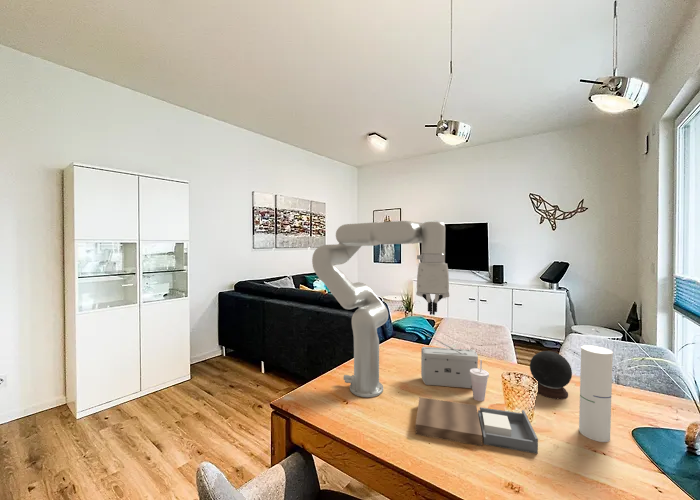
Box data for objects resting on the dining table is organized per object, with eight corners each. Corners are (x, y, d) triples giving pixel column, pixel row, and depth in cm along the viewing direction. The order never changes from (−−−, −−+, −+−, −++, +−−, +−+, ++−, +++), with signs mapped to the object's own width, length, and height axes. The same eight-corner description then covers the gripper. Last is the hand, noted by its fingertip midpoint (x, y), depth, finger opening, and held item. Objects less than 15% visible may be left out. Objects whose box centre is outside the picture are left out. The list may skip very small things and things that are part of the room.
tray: (483, 444, 85) (484, 430, 85) (478, 416, 99) (478, 403, 99) (537, 453, 82) (538, 439, 81) (523, 423, 95) (524, 410, 95)
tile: (484, 433, 89) (484, 424, 89) (482, 419, 96) (482, 411, 96) (511, 438, 87) (511, 429, 87) (507, 424, 94) (507, 416, 94)
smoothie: (490, 404, 106) (491, 364, 106) (470, 402, 107) (471, 362, 107) (486, 394, 112) (486, 357, 112) (467, 393, 114) (468, 355, 113)
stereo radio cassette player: (474, 381, 124) (475, 331, 123) (479, 391, 115) (480, 338, 115) (421, 377, 127) (421, 329, 127) (422, 386, 119) (422, 335, 118)
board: (415, 434, 90) (415, 424, 90) (419, 405, 105) (419, 397, 105) (482, 446, 85) (482, 435, 84) (476, 414, 100) (476, 405, 100)
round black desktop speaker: (565, 405, 106) (566, 361, 105) (523, 390, 116) (524, 351, 115) (575, 392, 114) (576, 352, 114) (536, 380, 124) (537, 343, 124)
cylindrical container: (612, 445, 85) (615, 355, 84) (580, 436, 89) (582, 350, 88) (607, 431, 91) (610, 348, 90) (577, 423, 95) (579, 343, 94)
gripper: (409, 259, 101) (408, 314, 101) (457, 260, 96) (456, 318, 97) (411, 257, 108) (410, 309, 108) (456, 258, 103) (455, 313, 104)
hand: (432, 313), depth 103 cm, fingers closed
